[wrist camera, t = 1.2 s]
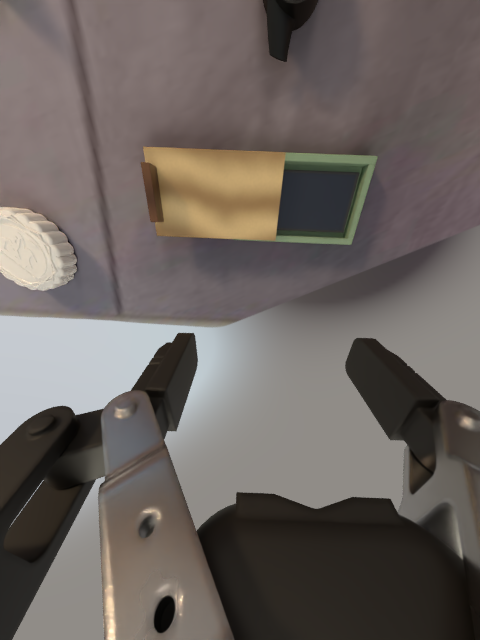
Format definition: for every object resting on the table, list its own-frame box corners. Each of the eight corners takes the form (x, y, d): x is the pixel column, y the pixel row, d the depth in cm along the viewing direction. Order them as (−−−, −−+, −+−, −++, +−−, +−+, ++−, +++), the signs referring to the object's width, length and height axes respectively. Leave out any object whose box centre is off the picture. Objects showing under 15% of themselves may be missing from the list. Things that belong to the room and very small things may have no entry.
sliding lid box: (235, 155, 24) (235, 150, 23) (368, 160, 24) (378, 156, 23) (234, 238, 29) (233, 239, 27) (345, 243, 29) (351, 244, 27)
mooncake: (92, 255, 31) (74, 259, 28) (59, 298, 35) (40, 306, 32) (14, 187, 27) (-16, 183, 24) (-13, 245, 31) (-43, 248, 28)
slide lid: (145, 148, 23) (133, 140, 20) (284, 153, 22) (289, 146, 20) (158, 235, 27) (150, 237, 25) (274, 240, 27) (277, 242, 25)
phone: (245, 169, 25) (245, 167, 24) (356, 173, 25) (360, 172, 24) (242, 228, 28) (242, 228, 27) (341, 232, 28) (343, 232, 27)
